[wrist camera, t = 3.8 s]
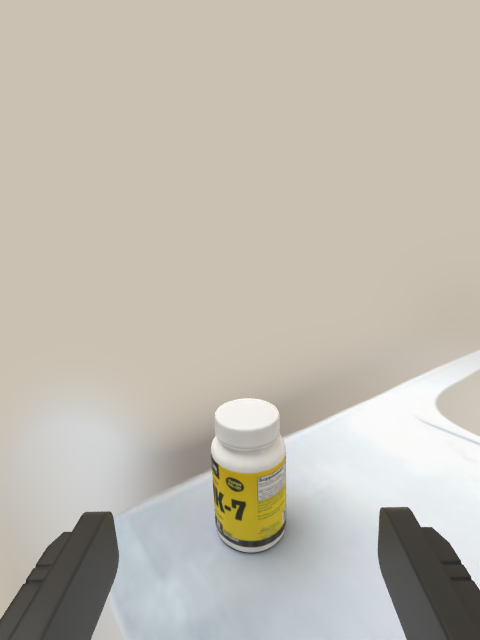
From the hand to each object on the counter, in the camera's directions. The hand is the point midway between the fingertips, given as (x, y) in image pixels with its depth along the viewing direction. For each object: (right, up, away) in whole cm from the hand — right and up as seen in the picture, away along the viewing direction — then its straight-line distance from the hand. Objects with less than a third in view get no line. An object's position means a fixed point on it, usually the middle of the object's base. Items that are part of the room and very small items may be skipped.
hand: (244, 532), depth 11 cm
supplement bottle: (+1, -8, +13) cm, 15 cm away
